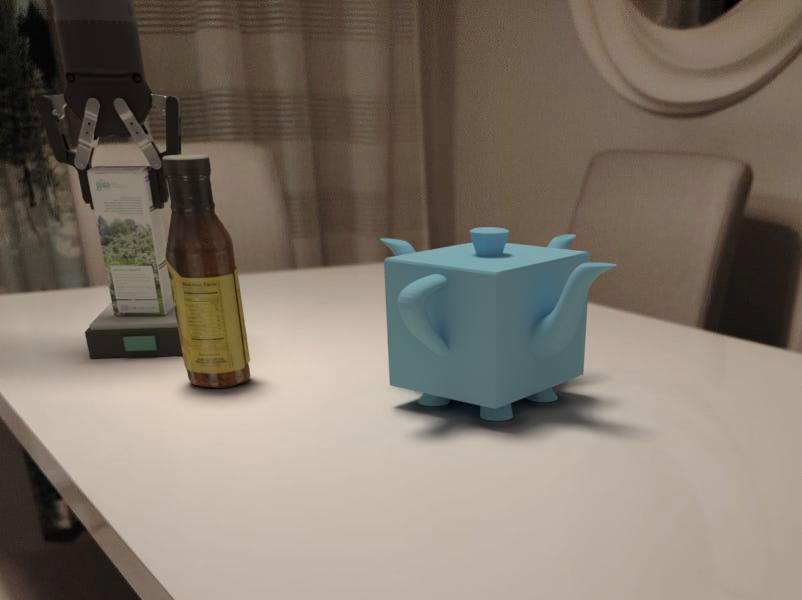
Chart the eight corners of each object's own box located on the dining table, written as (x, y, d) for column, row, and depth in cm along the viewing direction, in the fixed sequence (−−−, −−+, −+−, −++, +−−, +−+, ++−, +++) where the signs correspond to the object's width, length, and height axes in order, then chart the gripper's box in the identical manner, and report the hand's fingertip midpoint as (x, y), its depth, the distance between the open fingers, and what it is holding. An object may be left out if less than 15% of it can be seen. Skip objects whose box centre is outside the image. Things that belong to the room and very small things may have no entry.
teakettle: (396, 435, 78) (388, 245, 71) (384, 375, 94) (376, 216, 87) (616, 425, 81) (631, 241, 73) (567, 369, 96) (575, 213, 89)
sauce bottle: (209, 371, 96) (178, 152, 85) (264, 376, 94) (238, 153, 84) (172, 388, 90) (134, 156, 80) (230, 393, 89) (198, 158, 78)
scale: (88, 360, 100) (82, 327, 98) (112, 331, 111) (107, 301, 109) (195, 356, 101) (190, 323, 99) (207, 328, 112) (203, 299, 111)
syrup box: (177, 306, 107) (155, 164, 100) (166, 317, 102) (142, 168, 95) (126, 306, 107) (101, 164, 100) (112, 317, 102) (84, 168, 94)
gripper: (177, 21, 95) (201, 204, 103) (28, 19, 93) (65, 205, 101) (167, 17, 88) (194, 212, 97) (6, 14, 87) (48, 213, 95)
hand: (128, 208), depth 99 cm, fingers closed on syrup box, 6 cm apart
